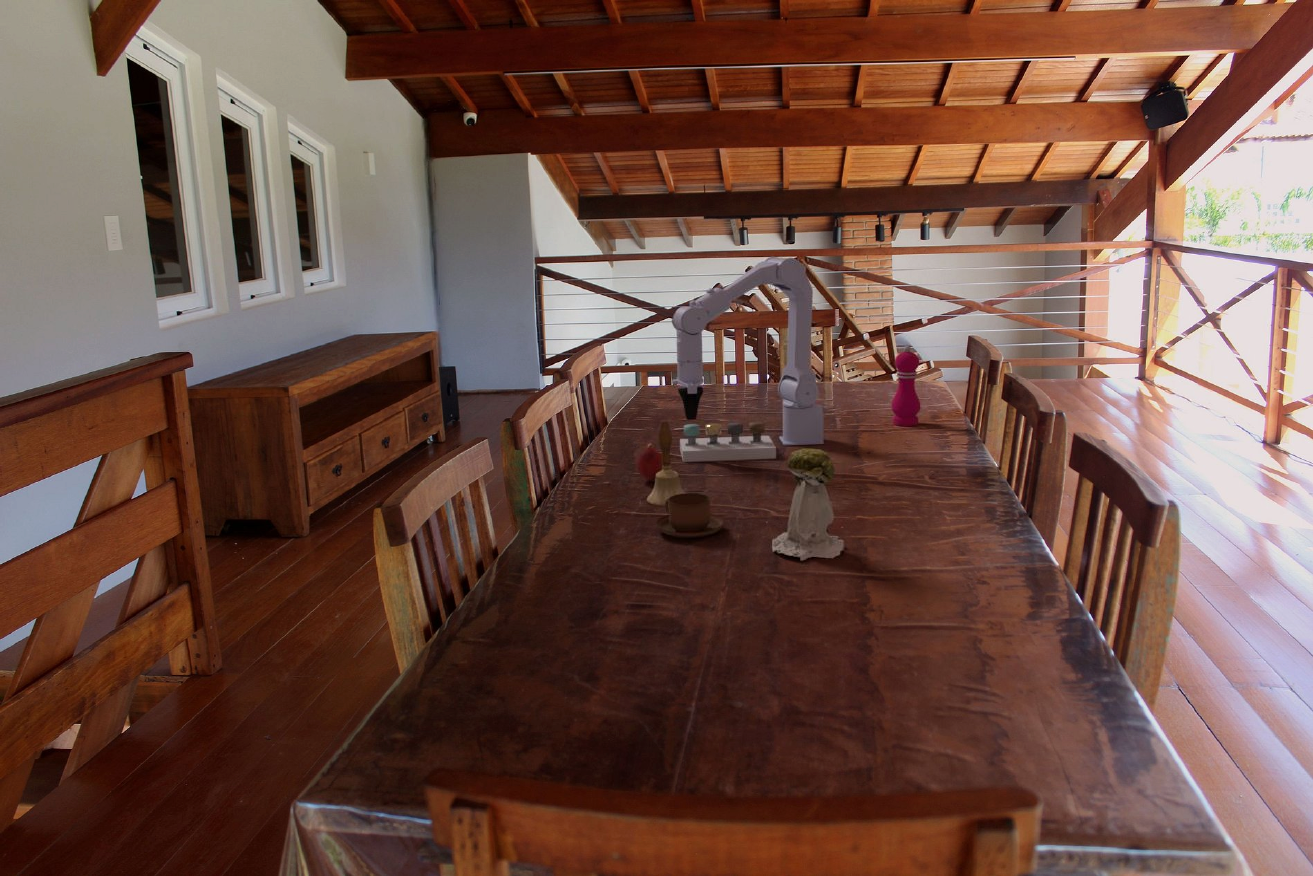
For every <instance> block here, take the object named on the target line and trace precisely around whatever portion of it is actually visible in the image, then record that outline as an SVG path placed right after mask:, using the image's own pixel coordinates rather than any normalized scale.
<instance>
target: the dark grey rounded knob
mask: <svg viewBox="0 0 1313 876" xmlns="http://www.w3.org/2000/svg"><path fill="white" fill-rule="evenodd" d="M726 425H727V426H726V433H727V434H728V435H731V436H730V437H731V442H732V443H739V437H740V435H742V434H743V433H744V424H743V422H729V423H727V424H726Z"/></svg>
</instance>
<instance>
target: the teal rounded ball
mask: <svg viewBox="0 0 1313 876" xmlns="http://www.w3.org/2000/svg"><path fill="white" fill-rule="evenodd" d="M683 435H684V436H685V437H687V439H688V444H689V445H694V444H696V438H697V436H699V435H700V424H696V423H689V424H685V425H683Z"/></svg>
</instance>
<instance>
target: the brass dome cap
mask: <svg viewBox="0 0 1313 876" xmlns="http://www.w3.org/2000/svg"><path fill="white" fill-rule="evenodd" d="M704 427H705V435H706V436H709V438H710V444H716V443H718V438H719V437H718V436H719V435H722V424H720V423H717V422H716V423H712V422H711V423H707V424H705V426H704Z"/></svg>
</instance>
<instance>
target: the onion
mask: <svg viewBox="0 0 1313 876" xmlns="http://www.w3.org/2000/svg"><path fill="white" fill-rule="evenodd" d="M662 466H663V465H662V453H660V452H659V451H658V450H657V449H655V448H654V445H653V444H652V443H649V444H647V446H646V447H645V449H644V450H642V451H641V452H640V454H639V455H638V456H637V459H636V469H637V471H638V473H639V475H640V476H641V477H642V478H644V479H645V480H647V481H649V482H653V481H654V482H655V479H656V474H657V473H658V472H660V471H661V470H662V469H663V468H662Z"/></svg>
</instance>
